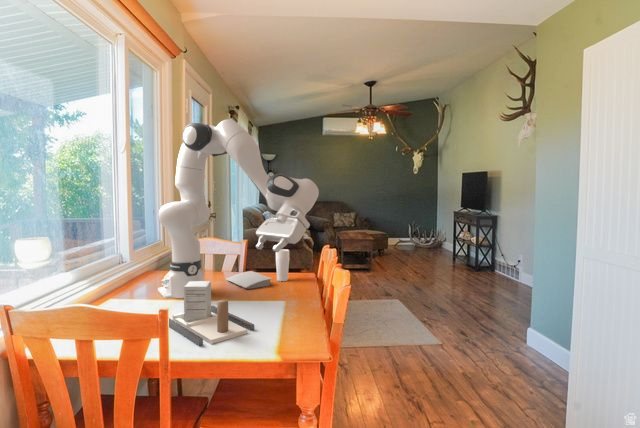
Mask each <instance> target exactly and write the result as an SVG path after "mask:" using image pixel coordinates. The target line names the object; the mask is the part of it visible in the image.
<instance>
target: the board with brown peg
mask: <svg viewBox="0 0 640 428" xmlns="http://www.w3.org/2000/svg"><path fill="white" fill-rule="evenodd" d="M216 302H217V303H216V307H217V314H215V313H212V312H211V317H209V318H207V319H201V320H197V321H193V322H189V323H188V322H185V321H184V311H183V312H179V313H175V314H172V320H173V321H175V322H176V323H178V324H180V325H181V326H183V327H185V328H186V329H188V330H189V331H191V332H193V333H194V334H196V335H198V336H199V337H201V338H203V341H205V342H206V343H208V344H210V345H213V344H217V343H219V342H220V343H221V342H223V341H227V340H230V339H233V338H236V337H240V336H243V335H246V334H248V329H246V328H244V327H241V326H239V325H237V324H235V323H233V322H231V321H229V320H228V313H229V300H228V299H220V300H217V301H216Z"/></svg>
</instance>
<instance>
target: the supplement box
mask: <svg viewBox="0 0 640 428" xmlns="http://www.w3.org/2000/svg"><path fill="white" fill-rule="evenodd" d="M211 306H212V281H210V280H204V281H190V282H188V283H187V284H186V285H185V286H184V298H183V312H184V321H185V322H188V323H189V322H193V321H197V320H201V319H207V318H209V317H211Z"/></svg>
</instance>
